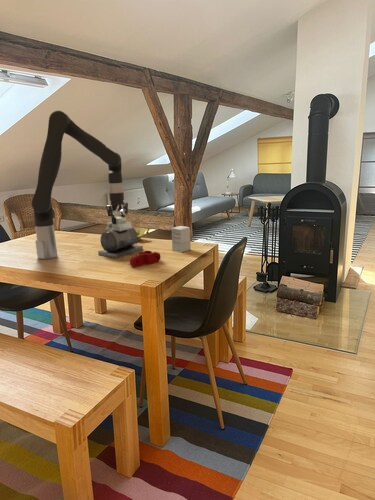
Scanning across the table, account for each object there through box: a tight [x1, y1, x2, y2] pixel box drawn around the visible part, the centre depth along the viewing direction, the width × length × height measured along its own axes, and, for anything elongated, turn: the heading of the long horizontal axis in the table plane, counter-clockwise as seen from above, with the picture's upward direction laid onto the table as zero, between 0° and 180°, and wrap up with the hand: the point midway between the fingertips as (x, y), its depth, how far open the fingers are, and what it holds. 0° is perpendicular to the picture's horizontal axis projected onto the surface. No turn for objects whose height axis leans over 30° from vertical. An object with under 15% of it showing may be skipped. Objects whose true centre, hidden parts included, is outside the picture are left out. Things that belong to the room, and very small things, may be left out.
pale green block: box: [110, 216, 127, 228], centre depth 207 cm, size 5×8×5 cm, turn 56°
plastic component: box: [136, 227, 146, 242], centre depth 236 cm, size 20×7×10 cm
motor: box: [97, 221, 144, 259], centre depth 209 cm, size 20×14×16 cm
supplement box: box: [171, 225, 192, 253], centre depth 209 cm, size 7×7×13 cm
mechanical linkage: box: [129, 250, 161, 268], centre depth 188 cm, size 16×7×5 cm, turn 140°
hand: (118, 223), depth 207 cm, fingers open, 6 cm apart
